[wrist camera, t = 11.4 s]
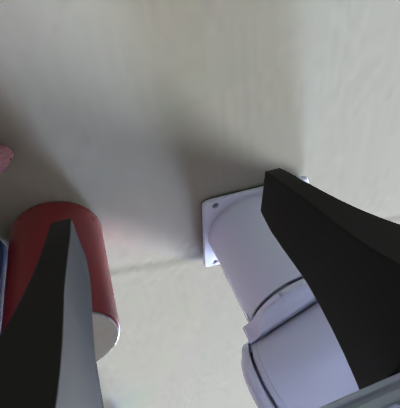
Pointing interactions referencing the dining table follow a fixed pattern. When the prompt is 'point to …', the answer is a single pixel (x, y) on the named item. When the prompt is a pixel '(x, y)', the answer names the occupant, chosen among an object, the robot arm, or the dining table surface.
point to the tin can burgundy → (95, 254)
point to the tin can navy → (2, 277)
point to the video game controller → (5, 157)
